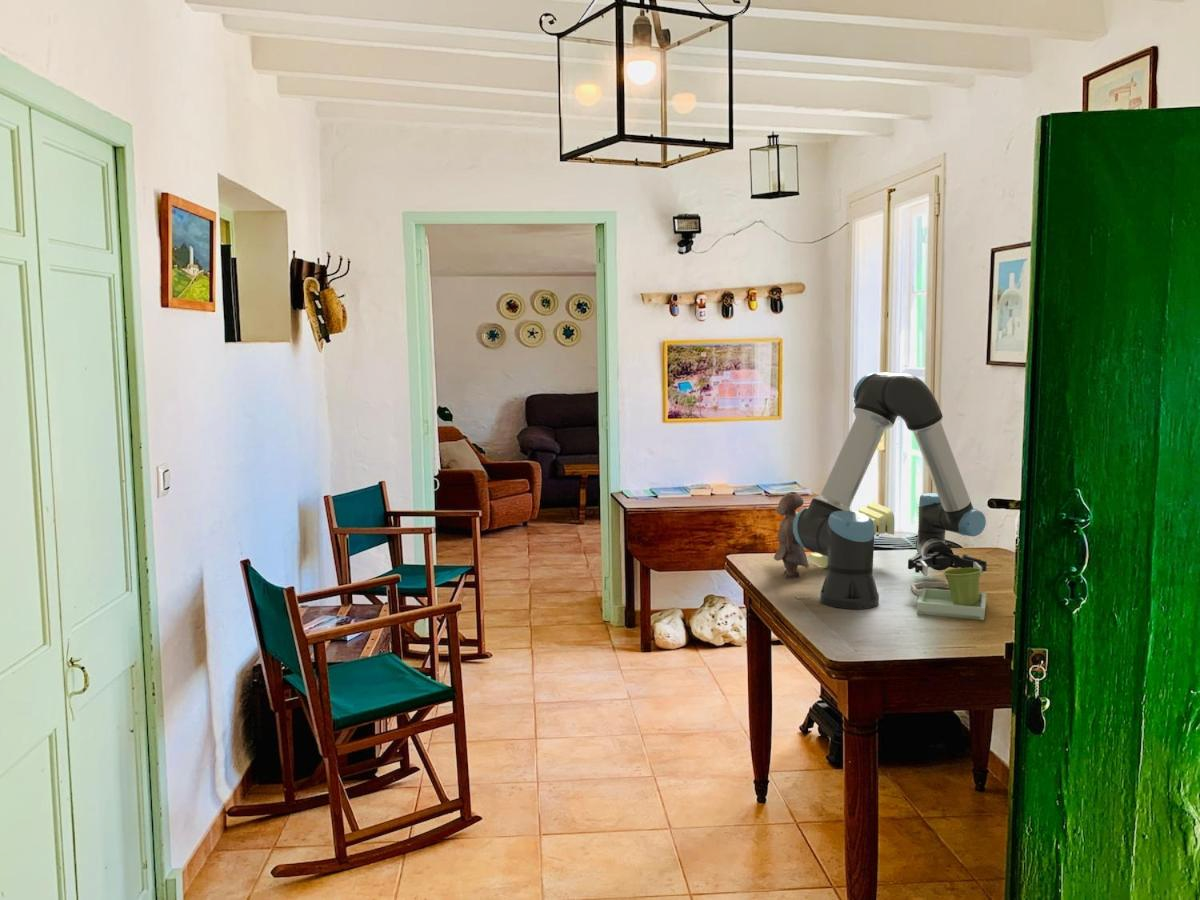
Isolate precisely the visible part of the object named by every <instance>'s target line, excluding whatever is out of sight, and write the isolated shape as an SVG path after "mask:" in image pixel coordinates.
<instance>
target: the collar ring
mask: <svg viewBox="0 0 1200 900" xmlns="http://www.w3.org/2000/svg"><path fill="white" fill-rule="evenodd" d="M923 586H924V587H928V586H935V587H934V588H936V587H937V588H945V587H946V588H947V589H950V588H949V584H948V582H945V581H919V582H915V583H911V584H910V590H911V592H912V591H913V592H912V593H913V594H914V595H919V596H920V594H921V591H922V589H919V587H920V588H924V587H923Z"/></svg>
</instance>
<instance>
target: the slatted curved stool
mask: <svg viewBox="0 0 1200 900" xmlns="http://www.w3.org/2000/svg"><path fill="white" fill-rule="evenodd" d="M798 512H799V511H796V515H797V514H798ZM854 512H858V513H862V514H864V515H867V516H869V517H870V518H871V519H872V520H873V523H874V532H875V535H877V534H889V535H892V536H893V535H895V515H894V512H893V510H892V509H891V508H890V507H888V506H884V505H883V504H879V503H876V502H874V501H871V502H870V503H868V504H867V505H866V507H865V506H863V507H861V508H860V509H859V508H858V511H856V510H855V511H854ZM875 535H874V536H875ZM807 559H808V560H811V561H813V562H814V563H816V564H818V565H820V566H822V567H823V568H822V569H828V556H825V555H822V554H819V553H817V552H811V553H809V555H807Z"/></svg>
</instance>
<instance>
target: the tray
mask: <svg viewBox="0 0 1200 900" xmlns="http://www.w3.org/2000/svg"><path fill="white" fill-rule="evenodd" d="M921 588H922V589H921V590H922V591H921V594H920V595H919V596H918V600H917V602H916V604H917V606H916V614H917V615H926V616H927V615H928V616H935V617H936V616H939V617H947V618H948V617H949V618H957V619H958V618H959V619H969V620H980V621H984V620H985V615H986V606H987V605H986V604H987V593H985V592H979V602H978V603H977V604H976V605H971V606H966V605H954V603H953V599H952V595H951V591H950V589H943V588H941V589H938V588H928V587H921Z"/></svg>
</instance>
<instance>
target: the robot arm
mask: <svg viewBox="0 0 1200 900" xmlns="http://www.w3.org/2000/svg"><path fill="white" fill-rule="evenodd" d="M852 397H853V398H854V399H853V401H854V408H853V410H852V411H853V414H854V417H855V418H854V421H853V423H852V425H851V427H850V430H849V432H848V433H847V437H846V438H845V440H844V443H843V444H842V447H841V449H840V451H839V454H838V456H837V458H836V460H835V462H834V465H833V466H832V468H831V471H830V473H829V475H828V478H827V480H826V481H825V484H824V487H823V489H822V490H821V493H820V494H818V495H817V496H814V497H812V499H811V501H810V503H809V506H808V507H804V508H803V509H801V510H800V511H797V512H798V514H797V515H796V517H795V519H794V523H793V533H794V536H795V539H796V541H797V542H798V543H799V544H800V545H801V546H802V547H804V549H806V550H807V551H810V552H811V553H818V554H820V555H821V554H822V555H825V556H828V568H827V571H826V572H827V573H826V575H825V579H824V581H823V583H822V587H821V589H820V594H819V597H820V598H819V601H820V602H821V603H822V604H824V605H827V606H829V607H834V608H835V607H836V608H842V609H848V610H849V609H854V610H859V609H861V610H862V609H871V608H873V607H874V608H875V607H877V606H878V605H879V604H880V594H879V592H878V590H877V588H878V587H877V586H876V581H875V578H874V552H875V551H874V550H875V547H874V546H875V532H874V523H873V520H872V519H871V518H870V517H869V516H867V515H864V514H862V513H858V512H859V511H857V512H855V511H853V510H852V511H851V509H850V507H851V506H852V503H853V501H854V499H855V496H856V494H857V492H858V490H859V488H860V485H861V484H862V481H863V479H864V477H865V475H866V472H867V470H868V468H869V465H870V463H871V461H872V459H873V457H874V454H875V452H876V450H877V448H878V446H879V443H880V442H881V439H882V437H883V435H884V433H885V431H886V430H888V429H890V428H891V429H892V428H893V427H894V425H895V422H896V420H897V419H898V417H900V418H901V419H902V420H903V421H904V423H905V425H906V427H907V430H909V431H911V432H913V435H914V437H915V440H916V443H917V446H918V447H919V450H920V452H921V456H922V458H923V461H924V463H925V466H926V469H927V471H928V473H929V476H930V478H931V481H932V483H933V486H934V488H935V491H936V492H927V493H922V494H921V495H920V496H919V501H918V507H917V509H918V523H917V524H918V529H917V537H916V539H915V542H914V543H915V545H914V546H915V550H916V551H917V553H915V555H914V556H912V557H910V558H908V559H907V570H914V569H915V571H914V572H915V573H917V574H918V573H922V575H923V576H924V577H928V573H929V572H928V569H929V568H931V569H933V570H934V571H946V570H948V568H950V569H957V568H980V569H982V571H981V572H980V577H979V579H981V578H982V576H983V572H987V561H986V560H981V559H980V558H979V559H978V558H976V557H971V556H969V555H968V554H965V553H964V554H962V555H961V556H960V555H959V554H954V552H953V550H952V549H951V547H950V546H948V544H947V543H946V532H951V533H954V534H959V535H961V536H966V537H967V536H968V537H977V536H979V535H981V534H982V532H983V531H984V530H985V528H986V525H987V519H986V516H985V514H984V513H983V512H982V511H981V510H978V509H976V508H974V507H973V504H972V501H971V499H970V496H969V494H968V491H967V488H966V485H965V482H964V480H963V477H962V475H961V472H960V470H959V467H958V464H957V461H956V458H955V455H954V453H953V451H952V448H951V445H950V443H949V440H948V437H947V435H946V433H945V430H944V427H943V424H942V420H943V413H942V411H941V408H940V406H939V403H938V401H937V400H936V399H937V398H936V397H935V396H934V394H933V393H932V391H931V390H930V388H929V387H928V386H927V384H926V383H925V382H924V381H922V379H920V378H919V377H918V376H915V375H913V374H911V373H896V372H895V373H894V372H893V373H892V372H885V371H877V372H871V373H868V374H865V375H864V376H862V377H861V378H860V379H859V380H858V381H857V383H856V385H855V387H854V389H853V396H852Z"/></svg>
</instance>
